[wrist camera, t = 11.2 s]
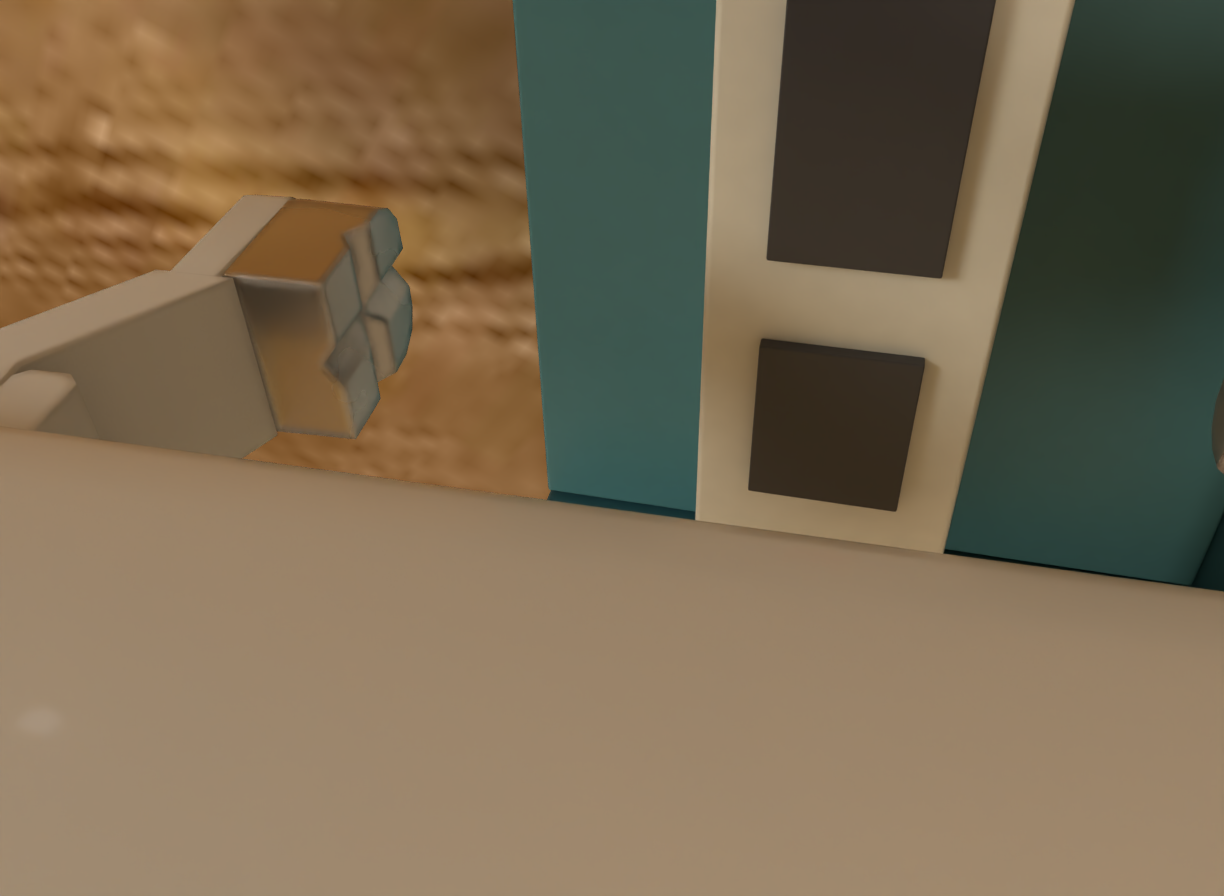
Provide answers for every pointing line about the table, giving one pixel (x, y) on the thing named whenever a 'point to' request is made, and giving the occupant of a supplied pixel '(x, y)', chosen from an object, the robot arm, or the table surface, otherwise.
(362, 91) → the table surface
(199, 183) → the table surface
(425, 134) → the table surface
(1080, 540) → the teal armchair
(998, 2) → the remote
